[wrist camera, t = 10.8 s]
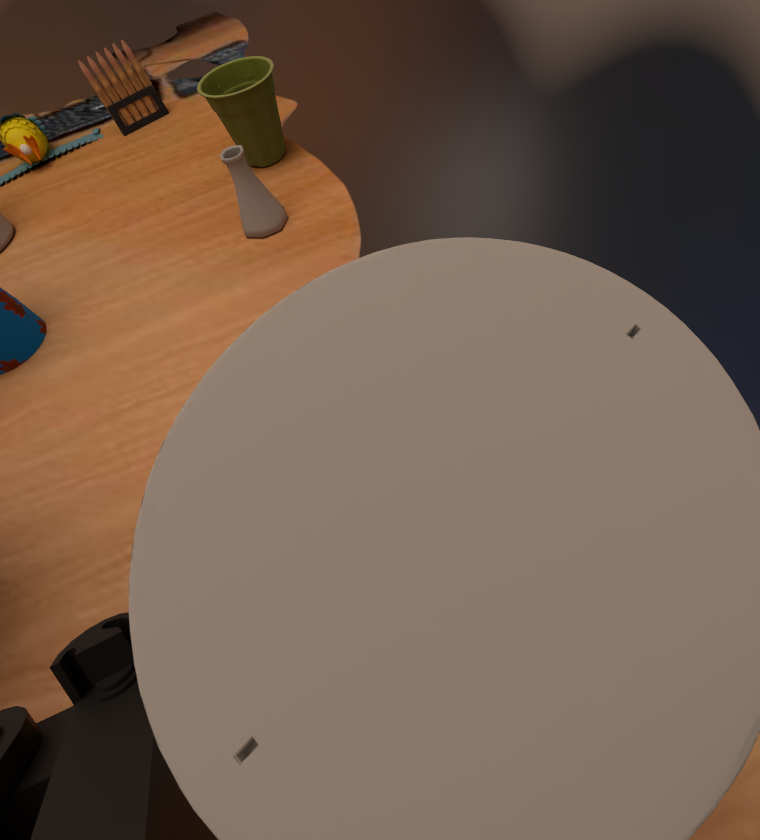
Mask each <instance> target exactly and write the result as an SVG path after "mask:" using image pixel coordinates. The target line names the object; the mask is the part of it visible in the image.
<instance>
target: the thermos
mask: <svg viewBox="0 0 760 840" xmlns="http://www.w3.org/2000/svg"><path fill="white" fill-rule="evenodd" d="M45 334H46V324H45V322H44V321H43V320H42V319H41V318H40V317H38V316H37V315H36V314H35V313H33V312H32V311H31V310H30V309H28V308H27V307H26V306H25V305H23V304H22V303H21V302H20V301H18V300H17V299H16V298H14V297H13V296H12V295H10V294H9V293H7V292H6V291H5V290H3V289H2V288H0V374H2V373H5V372H8V371H10V370H13V369H14V368H16V367H17V366H19V365H21V364H22V363H24V362H25V361H26V360H27V359H28V358H29V357H31V356H32V355H33V354H34V353H35V352H36V350H37V349H38V348H39V346H40V345H41V343H42V342H43V340H44V337H45Z"/></svg>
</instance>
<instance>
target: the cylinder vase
mask: <svg viewBox="0 0 760 840" xmlns="http://www.w3.org/2000/svg"><path fill="white" fill-rule="evenodd" d="M12 236H13V226H12V224H11V223H10V222H9V221H8V220H7V219H6V218H5V217H4V216H2V215H1V214H0V251H2V250H3V249H4V248H5V247H6V245H7V244H8V243H9V242H10V240H11V238H12Z"/></svg>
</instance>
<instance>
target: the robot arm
mask: <svg viewBox="0 0 760 840" xmlns="http://www.w3.org/2000/svg"><path fill="white" fill-rule="evenodd" d="M50 669H51V670H52V672H53V674H54V675H55V677H56V678H57V680H58V681H59V683H60V684H61V686H62V687H63V689H64V690H65V692H66V693H67V695H68V696H69V698H70V699H71V701H72V703H73V704H74V706H72V707H70V708H68V709H66V710H64V711H62V712H60V713H58V714H55V715H53V716H51V717H49V718H47V719H45V720H43V721H40V722H38V723H35V721H34V720H33V718H32V717H31V716H30V714H29V713H28V711H27V710H26V709H25V708H23V707H19V706H15V707H11V708H7V709H3V710H1V711H0V840H218V839H217V838H216V836H215V835H214V834H213V833H212V831H211V830H210V829H209V828H208V827H207V825H206V824H205V823H204V822H203V821H202V819H201V818H200V817H199V816H198V814H197V813H196V812H195V811H194V809H193V808H192V806H191V805H190V803H189V802H188V800H187V799H186V797H185V795H184V794H183V792H182V791H181V789H180V787H179V785H178V783H177V781H176V780H175V778H174V776H173V774H172V772H171V770H170V768H169V766H168V764H167V762H166V761H165V759H164V757H163V755H162V753H161V751H160V749H159V747H158V744H157V742H156V739H155V736H154V734H153V731H152V728H151V725H150V723H149V720H148V716H147V713H146V710H145V707H144V704H143V700H142V697H141V694H140V691H139V686H138V680H137V675H136V670H135V665H134V658H133V651H132V642H131V634H130V623H129V613H122V614H118V615H116V616H113V617H110V618H108V619H105V620H103V621H102V622H100V623H98V624H96V625H94V626H93V627H91V628H89V629H88V630H86V631H85V632H84V633H82V634H81V635H80V636H78V637H77V638H76V639H74V640H73V641H72V642H71V643H70V644H69V645H67V646H66V647H65V648H64V649H63V650H62V651H61V652H60V653H59V654H58V656H57V657H56V659H55V660H54V662H53V663H52V665H51V666H50Z"/></svg>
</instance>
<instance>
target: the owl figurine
mask: <svg viewBox="0 0 760 840" xmlns="http://www.w3.org/2000/svg"><path fill="white" fill-rule="evenodd" d="M36 119H37V117H34V116H32V117H29V118H28V119H27V118H25V116H23V115H20V114H17V113H15V114H13V115H5V116H3V117H2V118H1V121H0V137H1V141H2V143H3V145H5V147H6V148H3V149H4V150H5V151H7V152H9V153H11V154H13V155H14V156H15V157H17V158H19V159H21V160H23V161H26V162H25V163H24V164H22V165H20V166H18V167H17V168H15V169H14V170H12V171H10V172H8V173H7V174H5V175H3V176H1V177H0V185H1V184H3V183H4V181H5V182H7V181H8V180H9V179H10V178H13V177H15V176H16V175H19V174H21V173H22V172H24V171H26V170H27V169H28V168H29V169H30V168H32V167H33V166H34V165H37V164H38V163H40V162H41V161H45V160H47V159H48V158H52V157H54V155H55V156H56V155H59V154H60V152H61V153H64V152H66V150H71V149H72V148H73V147H74V148H76V147H78V146H79V144H80V145H83V144H85V142H87V143H89V142H92V140H93V141H96V140H98V137H99V138H102V137H104V136H103V135H102V134H98V133H99V130H100V128H96V129H94V130H93V131H92V134H88V135H86V136H83V137H81V138H79V139H76V140H74V141H71V142H69V143H66V144H63V145H61V146H58V147H56V148H54V149H51V150H50V146H49V142H48V140H47V137H46V135H45V132H44V131H43V130H44V129H45V126H43V125H42V122H41V121H39V120H38V121H35V120H36ZM40 125H42V126H40Z"/></svg>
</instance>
